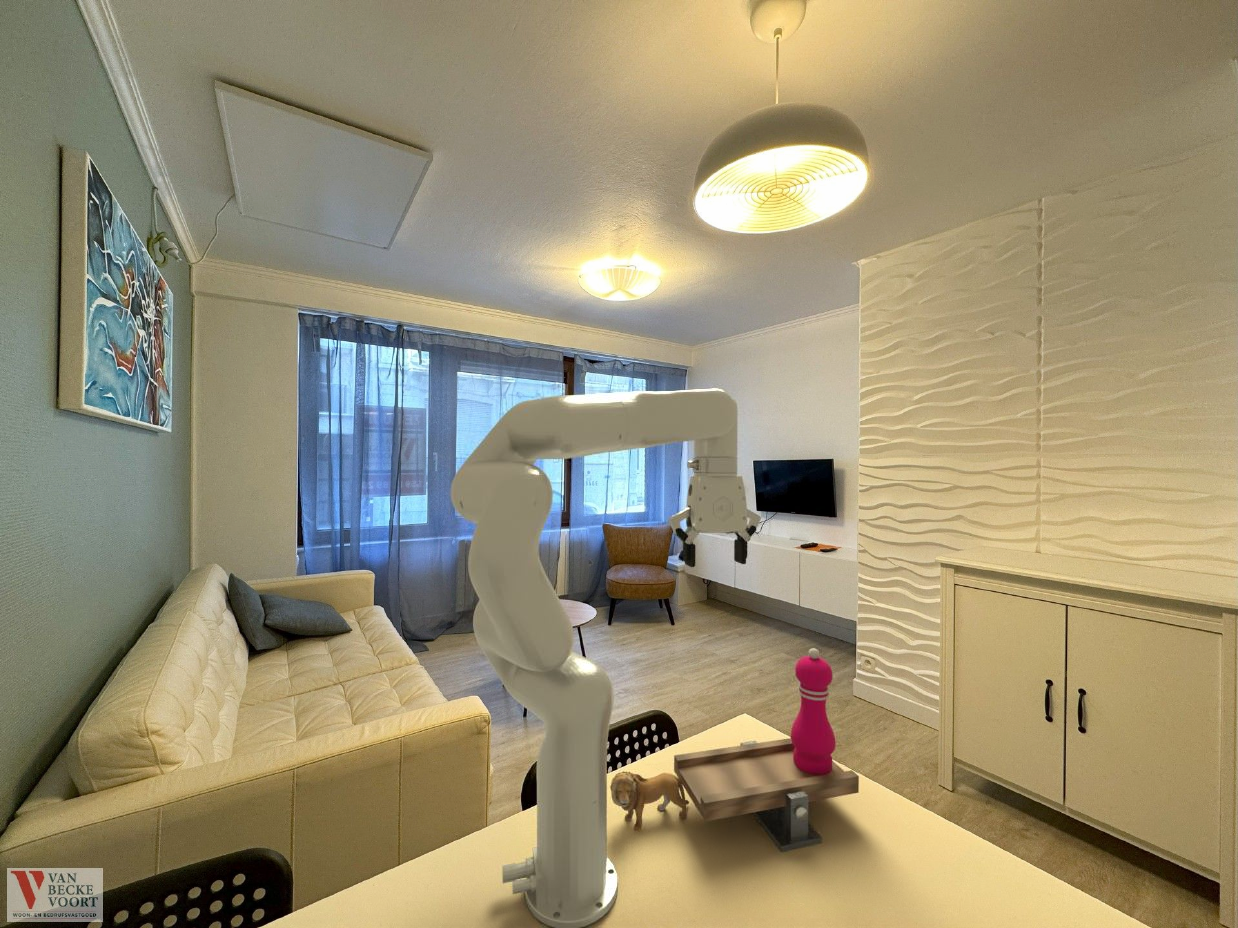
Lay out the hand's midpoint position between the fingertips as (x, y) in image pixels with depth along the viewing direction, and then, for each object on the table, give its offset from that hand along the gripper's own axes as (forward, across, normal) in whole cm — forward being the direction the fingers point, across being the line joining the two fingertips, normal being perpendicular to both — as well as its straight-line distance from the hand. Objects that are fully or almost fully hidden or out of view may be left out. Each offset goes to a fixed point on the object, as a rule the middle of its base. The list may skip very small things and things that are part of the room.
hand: (715, 564), depth 90 cm
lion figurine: (+41, -14, -4) cm, 43 cm away
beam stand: (+40, +7, -7) cm, 41 cm away
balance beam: (+35, +5, -7) cm, 36 cm away
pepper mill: (+34, +15, -7) cm, 38 cm away
